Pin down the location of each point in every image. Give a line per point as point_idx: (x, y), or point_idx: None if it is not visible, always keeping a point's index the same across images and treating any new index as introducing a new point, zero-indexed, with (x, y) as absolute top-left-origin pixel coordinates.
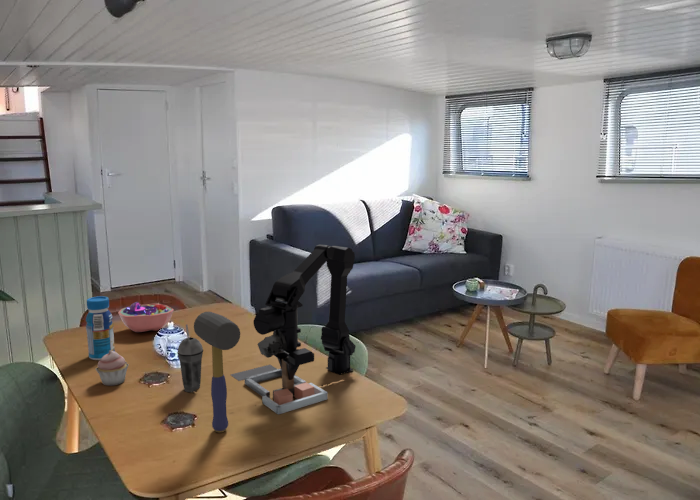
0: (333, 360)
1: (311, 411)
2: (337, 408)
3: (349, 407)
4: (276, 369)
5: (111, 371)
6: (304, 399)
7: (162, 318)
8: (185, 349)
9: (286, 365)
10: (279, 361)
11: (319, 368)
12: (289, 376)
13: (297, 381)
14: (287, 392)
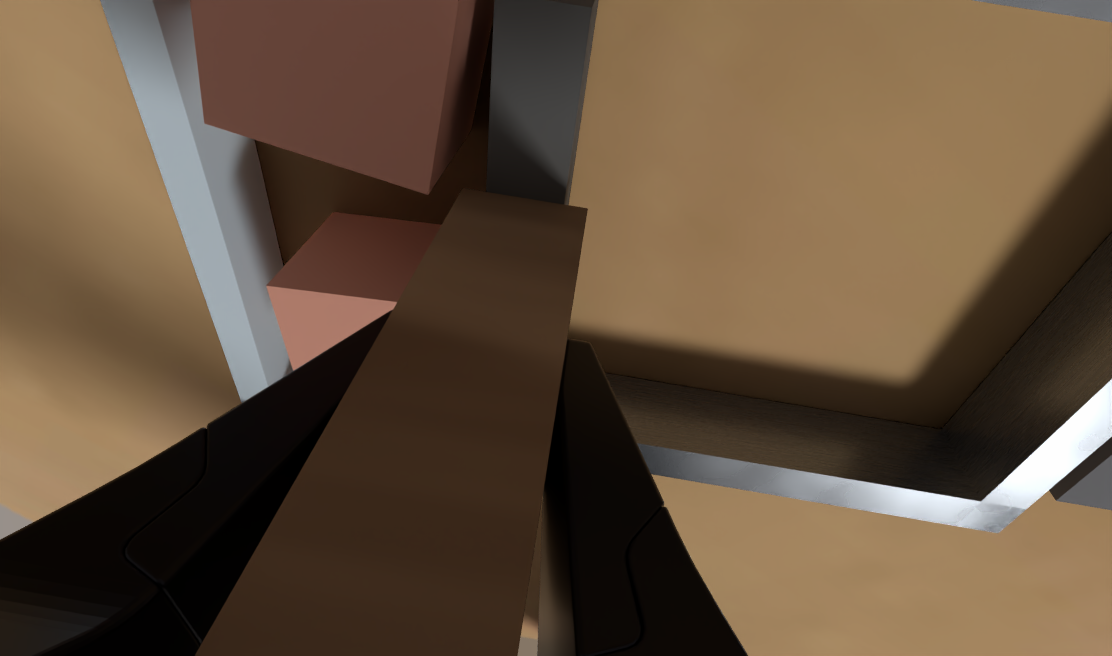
0: None
1: (75, 126)
2: (82, 317)
3: (78, 375)
4: (1102, 498)
5: None
6: (169, 191)
7: None
8: None
9: (267, 543)
10: (655, 613)
11: (761, 617)
12: (339, 345)
13: (644, 426)
14: (298, 105)
